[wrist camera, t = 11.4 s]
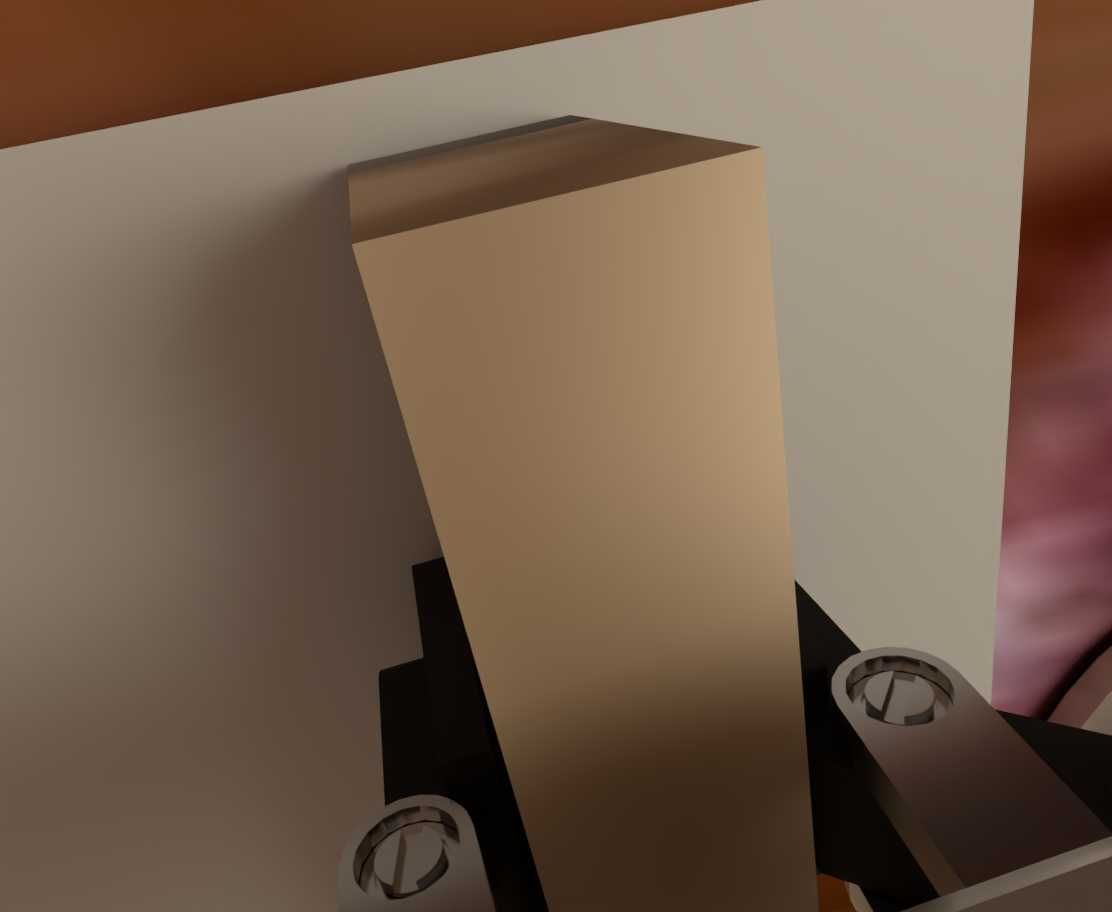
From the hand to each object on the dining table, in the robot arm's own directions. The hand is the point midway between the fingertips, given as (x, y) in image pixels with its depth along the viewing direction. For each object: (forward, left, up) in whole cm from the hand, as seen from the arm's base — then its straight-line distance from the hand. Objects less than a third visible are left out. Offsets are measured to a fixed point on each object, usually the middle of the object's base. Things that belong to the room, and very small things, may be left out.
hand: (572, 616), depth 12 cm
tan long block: (0, 0, 0) cm, 0 cm away
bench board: (+2, 0, -5) cm, 5 cm away
